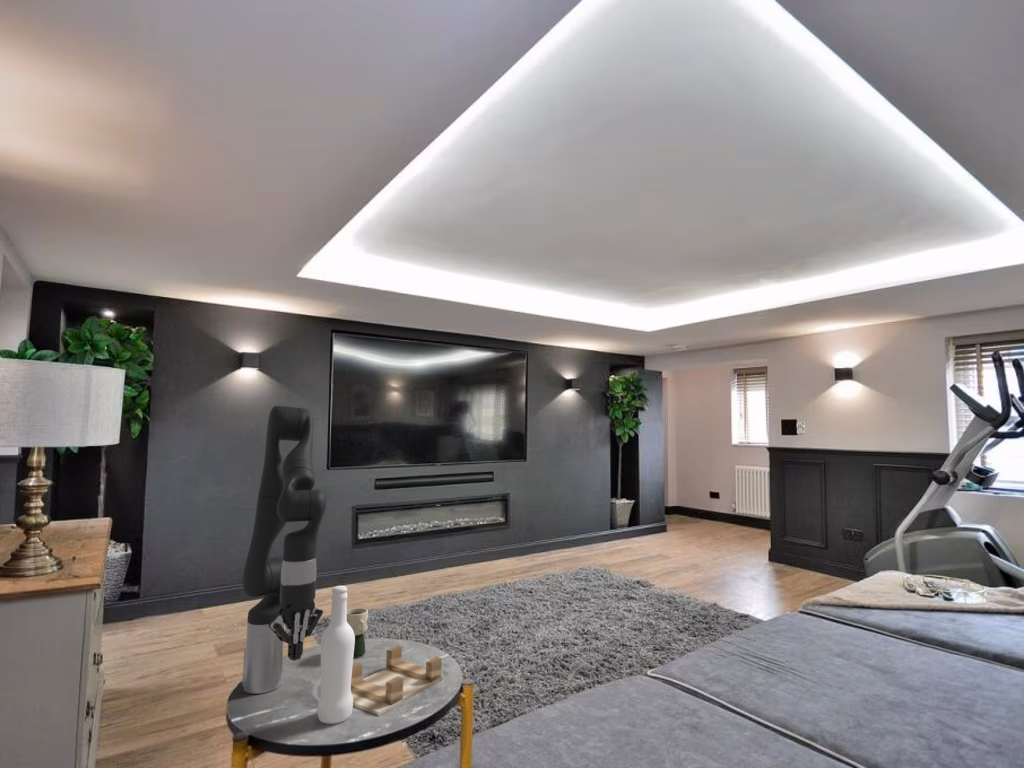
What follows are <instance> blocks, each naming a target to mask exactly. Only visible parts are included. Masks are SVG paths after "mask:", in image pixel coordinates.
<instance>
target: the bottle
mask: <svg viewBox="0 0 1024 768" xmlns="http://www.w3.org/2000/svg"><path fill="white" fill-rule="evenodd" d="M331 593H332V594H331V597H330V598H331V610H330V623H329V624H328V625H327V627H326V628H325V630H324V631H323V633H322V635H321V639H320V687H321V688H320V696H319V699H318V703H317V709H316V710H317V711H316V714H317V718H318V720H319V722H320V723H323V724H326V725H336V724H340V723H343V722H344V721H346V720H348V719H349V718H350V717H351V716H352V712H353V708H354V706H353V696H352V694H351V677H352V666H353V664H354V656H353V655H354V645H355V635H354V632H353V629H352V628H351V626H350V625H349V624H348V623H347V610H348V608H347V607H348V588H347V586H346V585H337V586H334V587H332V590H331Z"/></svg>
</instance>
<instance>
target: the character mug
mask: <svg viewBox="0 0 1024 768" xmlns="http://www.w3.org/2000/svg"><path fill="white" fill-rule="evenodd" d="M368 620H369V609H367V608H365V607H353V608H349V609H348V608H347V623H348V624H349V625H350V626H351V628H352V629H353V632H354V635H355V645H354V655H353V657H355V658H356V657H358V656H362V655H364V654H366V641H365V633H366V632H367V631H368V628H369V626H368Z"/></svg>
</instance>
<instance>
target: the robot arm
mask: <svg viewBox="0 0 1024 768" xmlns="http://www.w3.org/2000/svg"><path fill="white" fill-rule="evenodd" d="M268 415H269V416H268V419H267V430H266V440H265V452H264V460H263V467H262V468H263V469H262V474H261V478H260V484H259V488H258V489H259V490H258V496H257V501H256V502H257V503H256V510H255V519H254V523H253V524H254V525H253V530H252V535H251V539H250V544H249V548H248V553H247V556H246V560H245V565H244V569H243V573H242V588H243V591H244V593H245V595H246V596H247V597H249V598H257V597H262V596H263V598H262V599H261V600H260V601H259V602H257V603H256V604H255V605H254V606H252V607H251V608H250V609H249V610H248V612H247V624H246V625H247V626H246V643H245V644H246V645H245V649H244V653H243V667H242V669H243V670H242V682H241V683H242V685H241V687H243V691H244V692H245V693H247V694H253V695H254V694H255V695H256V694H265V693H269V692H271V691H273V690H276V689H278V688H279V687H280V686H282V679H283V678H282V677H283V663H284V662H283V660H284V659H283V658H284V643H286V644H287V657H288V659H289V660H290V661H293V662H295V661H298V660H299V659H301V658H302V655H303V652H304V641H305V639H306V638H307V637H310V636H311V635H312V633H313V632H314V630H315V628H316V627H317V625H318V623H319V621H320V619H321V617H322V615H323V613H324V611H323V609H320V608H317V607H316V603H315V599H316V594H317V593H316V587H317V543H318V541H317V540H318V535H319V531H320V527H321V523H322V520H323V517H324V515H325V512H326V508H327V497H326V494H325V493H324V491H322V490H319V489H314V487H315V482H316V480H315V473H314V467H313V443H314V442H313V441H314V419H313V414H312V412H311V410H310V409H308V408H304V407H296V406H295V407H294V406H285V405H274V406H273V407H272V408H271V410H270V412H269V414H268ZM281 441H288V442H289V441H290V442H291V441H292V442H298V443H297V445H296V446H294V448H293V449H291V450H290V451H289V453H288V454H287V455H286V456H285V458H284V460H283V458H282V455H281V451H280V442H281ZM295 522H307V524H306V525H305V526H304V527H303V528H302V529H299V530H296V531H292V532H288V533H287V534H286V535H284V538H283V553H282V554H283V555H282V556H274V557H269V556H270V553H271V550H272V547H273V544H274V543H275V540H276V539H277V537H278V536H279V534H281V532H282V531H283V529H284V527H285V526H286V525H287V523H295ZM243 680H244V681H243Z"/></svg>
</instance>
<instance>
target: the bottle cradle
mask: <svg viewBox="0 0 1024 768" xmlns="http://www.w3.org/2000/svg"><path fill="white" fill-rule="evenodd" d="M402 653H403V651H402V646H400V645H394V646H391V647H390V648H388V649H386V661H385V662H386V664H385V668H383V669H381V670H379V671H377V672H376V673H372V674H371V675H368V676H367V677H365V678H362V677H363V664H361V663H359V662H356V663H353V666H352V677H351V694H352V696H353V707H355V708H358V709H361V710H363V711H366V712H368V713H371V714H374V715H376V716H379V717H380V716H381V715H383V714H385V713H386V712H388V711H390V710H392V709H393V708H395V707H396V706H399V705H400V704H402V703H403V702H405V701H407V700H409V699H410V698H412V697H414V696H416V695H418V694H419V693H422V692H423V691H424V690H427V689H428V688H430V687H432V686H433V685H435V684H437V683H439V682H440V681H442V680H443V679H444V675H442V658H441V657H439V656H433V657H432V658H430V659H428V660H426V662H425V664H426V665H425V666H421V665H418V664H415V663H411V662H407V661H405V660H402Z"/></svg>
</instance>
